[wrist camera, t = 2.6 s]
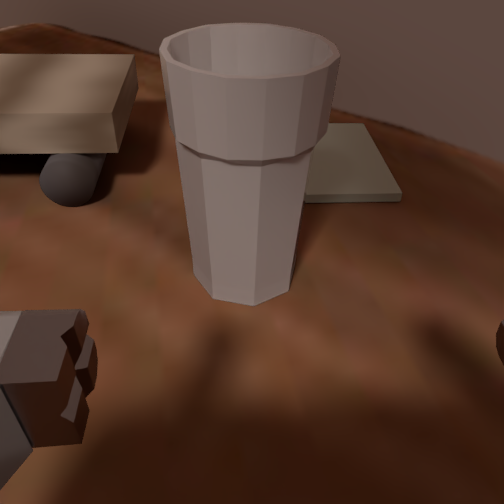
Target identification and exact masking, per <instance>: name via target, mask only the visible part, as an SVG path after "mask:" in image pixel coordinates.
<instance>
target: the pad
mask: <svg viewBox="0 0 504 504" xmlns="http://www.w3.org/2000/svg"><path fill="white" fill-rule="evenodd" d="M401 197H402V191H401V190H400V188H399V186H398V184H397V182H396V181H395V179H394V177H393V175H392V173H391V172H390V170H389V168H388V166H387V165H386V163H385V161H384V159H383V157H382V156H381V154H380V152H379V150H378V148H377V147H376V145H375V143H374V141H373V140H372V138H371V136H370V134H369V132H368V131H367V129H366V127H365V125H364V124H363V123H328V128H327V133H326V134H325V135H324V136H323V137H322V138H321V139H320V141H319V142H318V143H317V144H316V145H315V148H314V154H313V160H312V165H311V171H310V177H309V182H308V188H307V194H306V200H305V203H330V202H391V201H401Z"/></svg>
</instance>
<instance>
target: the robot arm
mask: <svg viewBox="0 0 504 504" xmlns="http://www.w3.org/2000/svg"><path fill="white" fill-rule="evenodd" d="M88 326H89V322H88V319H87V316H86V313H85V311H84V310H81V309H71V310H26V311H0V490H1V489H2V487H3V486H4V485H5V484H6V483H7V481H8V480H9V479H10V478H11V477H12V475H13V474H14V473H15V472H16V471H17V470H18V468H19V467H20V466H21V465H22V464H23V462H24V461H25V460H26V459H27V458H28V456H29V455H30V454H31V453H32V452H33V449H32V448H37V447H49V446H61V445H73V444H82V441H83V437H84V433H85V428H86V424H87V419H88V415H89V411H90V410H89V407H88V404H87V401H86V397H87V396H88V395H89V394H90V393H91V392H92V391H93V390H94V388H95V383H96V378H97V366H98V358H97V349H96V345H95V342H94V339H92V338H91V337H89V336H88V335H87V330H88ZM496 348H497V351H498V355H499V358H500V359H501V361H502V363H503V365H504V320H503V321H501V323H500V325H499V328H498V330H497V333H496Z"/></svg>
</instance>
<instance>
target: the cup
mask: <svg viewBox="0 0 504 504" xmlns="http://www.w3.org/2000/svg"><path fill="white" fill-rule="evenodd" d="M159 53H160V60H161V67H162V74H163V81H164V88H165V95H166V102H167V109H168V116H169V123H170V128H171V130H172V132H173V134H174V137H175V140H176V147H177V154H178V161H179V168H180V175H181V182H182V189H183V196H184V203H185V210H186V217H187V224H188V231H189V238H190V244H191V251H192V258H193V271H194V275H195V277H196V278H197V279H198V280H199V282H200V283H201V284H202V285H203V287H204V288H205V289H206V291H207V292H208V293H209V294H210V296H211V297H212V298H213V299H217V300H223V301H228V302H234V303H239V304H245V305H250V306H255V305H258V304H260V303H262V302H265V301H267V300H269V299H271V298H274V297H276V296H278V295H281V294H283V293H285V292H287V291H289V288H290V284H291V280H292V275H293V271H294V267H295V261H296V252H297V245H298V240H299V234H300V228H301V223H302V217H303V211H304V205H305V200H306V194H307V188H308V182H309V177H310V171H311V165H312V160H313V154H314V148H315V145H316V144H317V143H318V142H319V141H320V139H321V138H322V137H323V136H324V135H325V134H326V133H327V128H328V122H329V117H330V112H331V106H332V101H333V95H334V90H335V85H336V79H337V73H338V67H339V63H340V57H341V55H340V53H339V51H338V49H337V47H336V44H334V43H333V42H331V41H330V40H328V39H326V38H325V37H324V36H322V35H319V34H316V33H313V32H309V31H305V30H302V29H298V28H294V27H287V26H281V25H275V24H268V23H224V24H209V25H203V26H199V27H195V28H191V29H187V30H182V31H180V32H178V33H175V34H173V35H171V36H169V37H167V38H164V39H163V42H162V44H161V46H160V48H159Z"/></svg>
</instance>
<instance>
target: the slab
mask: <svg viewBox="0 0 504 504" xmlns="http://www.w3.org/2000/svg"><path fill="white" fill-rule="evenodd" d="M137 91H138V80H137V72H136V64H135V57H134V54H0V154H51V155H50V157H49V159H48V161H47V162H46V164H45V166H44V168H43V170H42V172H41V174H40V178H39V182H40V186H41V189H42V191H43V192H44V194H45V195H46V196H47V197H48V198H49V199H51V200H52V201H54V202H55V203H57V204H60V205H63V206H68V207H76V206H80V205H83V204H85V203H86V202H88V201H89V200H90V199H91V197H92V195H93V192H94V189H95V187H96V184H97V181H98V178H99V175H100V172H101V169H102V166H103V164H104V161H105V158H106V155H107V153H118V152H119V149H120V146H121V143H122V139H123V136H124V133H125V130H126V127H127V123H128V120H129V117H130V114H131V110H132V107H133V104H134V101H135V98H136V94H137Z"/></svg>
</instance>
